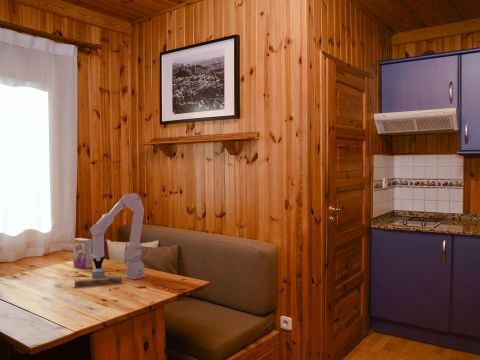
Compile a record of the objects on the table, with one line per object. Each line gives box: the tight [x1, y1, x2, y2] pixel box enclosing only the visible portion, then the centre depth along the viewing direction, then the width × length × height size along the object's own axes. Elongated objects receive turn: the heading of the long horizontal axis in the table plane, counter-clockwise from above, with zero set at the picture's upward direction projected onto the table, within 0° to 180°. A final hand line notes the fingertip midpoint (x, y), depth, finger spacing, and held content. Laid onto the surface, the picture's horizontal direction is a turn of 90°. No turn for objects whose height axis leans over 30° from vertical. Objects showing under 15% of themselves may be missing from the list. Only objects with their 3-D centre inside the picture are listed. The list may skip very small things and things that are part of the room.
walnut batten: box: [74, 276, 123, 288], centre depth 211 cm, size 22×3×2 cm, turn 108°
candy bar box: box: [72, 237, 93, 270], centre depth 246 cm, size 11×5×16 cm, turn 58°
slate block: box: [91, 267, 106, 279], centre depth 220 cm, size 6×6×5 cm
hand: (98, 271), depth 229 cm, fingers closed
